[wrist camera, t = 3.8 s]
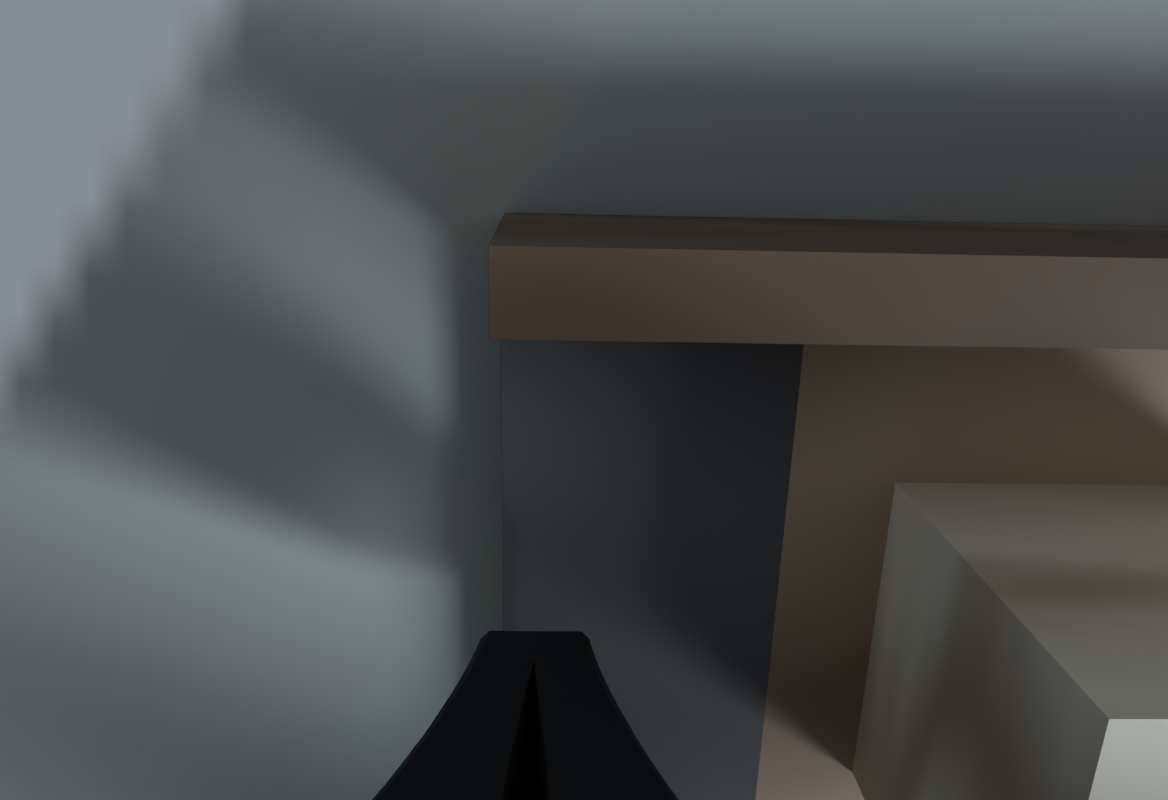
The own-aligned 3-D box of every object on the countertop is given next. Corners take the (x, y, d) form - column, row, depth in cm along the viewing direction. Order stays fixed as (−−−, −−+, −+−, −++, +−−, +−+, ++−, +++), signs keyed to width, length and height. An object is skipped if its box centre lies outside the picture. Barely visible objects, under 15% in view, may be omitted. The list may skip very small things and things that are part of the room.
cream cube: (1160, 771, 14) (1470, 1112, 9) (852, 772, 14) (1005, 1119, 9) (1241, 485, 12) (1667, 719, 8) (895, 482, 12) (1108, 720, 7)
